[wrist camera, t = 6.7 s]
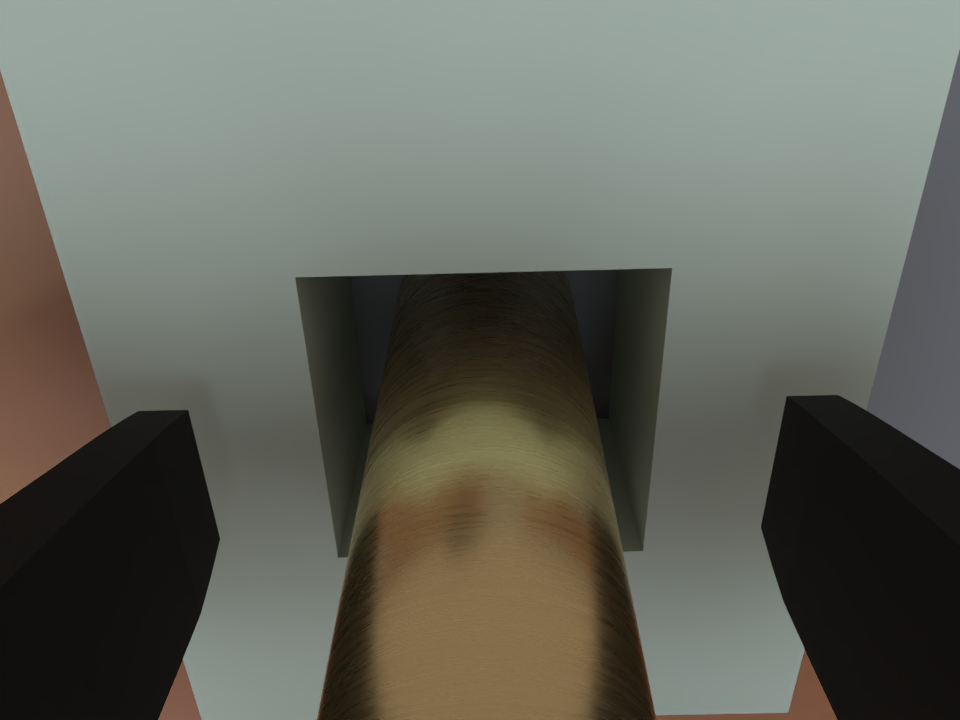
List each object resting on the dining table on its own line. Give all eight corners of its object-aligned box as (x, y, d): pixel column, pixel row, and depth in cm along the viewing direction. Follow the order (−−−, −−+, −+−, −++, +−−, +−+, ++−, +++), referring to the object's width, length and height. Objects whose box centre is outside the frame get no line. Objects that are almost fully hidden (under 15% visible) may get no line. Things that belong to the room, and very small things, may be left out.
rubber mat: (1113, 606, 18) (1129, 623, 17) (229, 624, 18) (223, 641, 18) (1535, -207, 10) (1581, -213, 10) (26, -163, 11) (6, -166, 10)
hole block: (731, 564, 17) (788, 713, 13) (253, 574, 17) (203, 723, 14) (848, -101, 11) (999, -103, 8) (104, -79, 11) (-44, -74, 8)
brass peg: (569, 381, 14) (693, 1141, 6) (404, 385, 14) (292, 1144, 6) (576, 227, 13) (760, 975, 4) (389, 231, 13) (206, 978, 4)
